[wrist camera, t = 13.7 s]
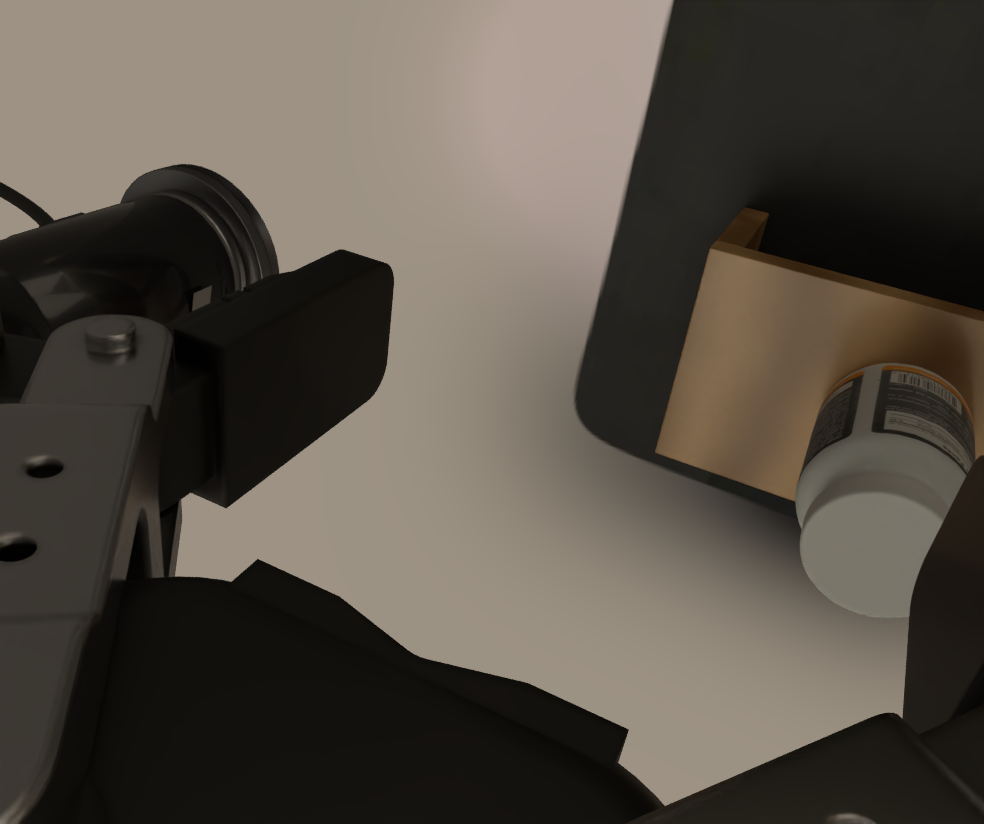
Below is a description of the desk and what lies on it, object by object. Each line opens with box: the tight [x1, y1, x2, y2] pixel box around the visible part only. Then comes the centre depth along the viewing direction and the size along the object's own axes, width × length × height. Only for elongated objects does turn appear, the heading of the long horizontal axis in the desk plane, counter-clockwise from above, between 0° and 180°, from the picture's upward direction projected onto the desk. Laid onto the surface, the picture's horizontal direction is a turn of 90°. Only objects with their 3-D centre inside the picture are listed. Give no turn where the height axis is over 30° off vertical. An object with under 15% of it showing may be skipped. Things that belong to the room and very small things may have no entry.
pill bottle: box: [795, 363, 976, 618], centre depth 31 cm, size 6×6×10 cm
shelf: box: [655, 207, 984, 502], centre depth 38 cm, size 18×10×7 cm, turn 80°
